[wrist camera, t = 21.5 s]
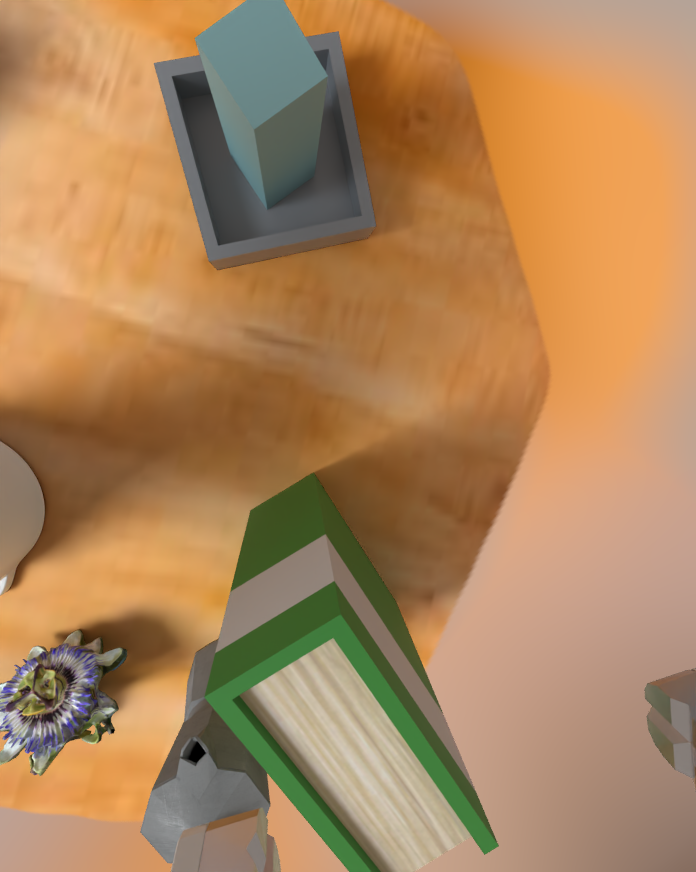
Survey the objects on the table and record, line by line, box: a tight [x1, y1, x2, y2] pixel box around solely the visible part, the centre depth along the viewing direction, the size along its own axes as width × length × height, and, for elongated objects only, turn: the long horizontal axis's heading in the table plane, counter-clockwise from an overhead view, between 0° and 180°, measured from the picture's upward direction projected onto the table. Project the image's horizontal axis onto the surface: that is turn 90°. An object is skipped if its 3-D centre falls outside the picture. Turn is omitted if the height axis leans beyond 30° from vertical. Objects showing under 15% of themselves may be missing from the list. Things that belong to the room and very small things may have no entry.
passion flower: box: [0, 630, 127, 776], centre depth 41 cm, size 11×11×12 cm
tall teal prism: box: [195, 0, 328, 210], centre depth 30 cm, size 5×5×14 cm
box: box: [154, 31, 376, 270], centre depth 36 cm, size 14×14×4 cm
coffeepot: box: [141, 639, 270, 863], centre depth 38 cm, size 15×9×18 cm, turn 5°
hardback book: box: [204, 473, 498, 872], centre depth 34 cm, size 18×7×24 cm, turn 30°
